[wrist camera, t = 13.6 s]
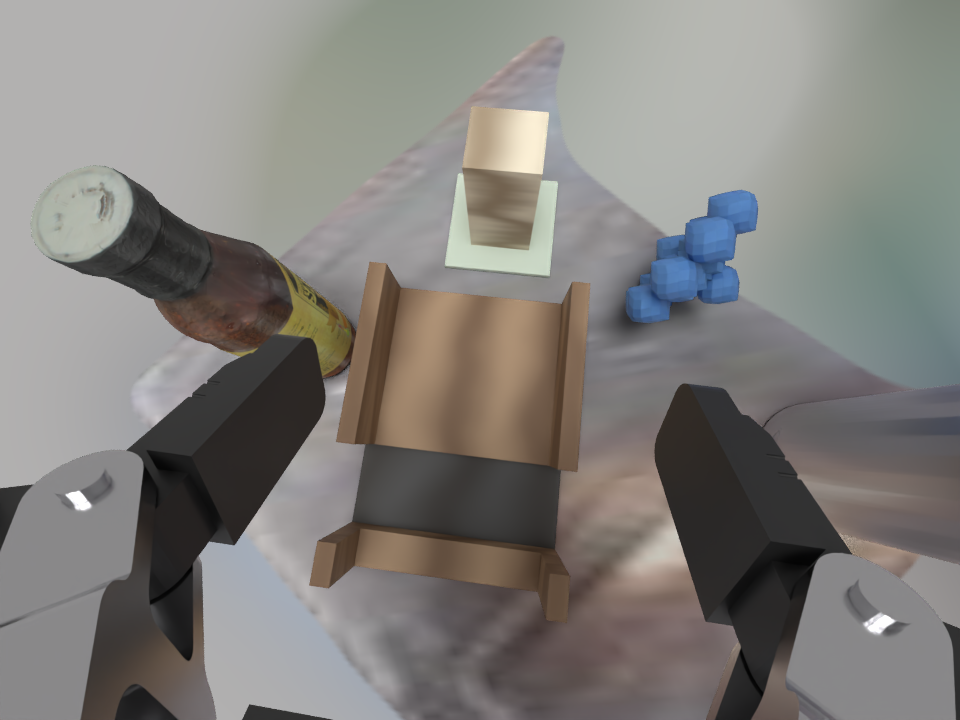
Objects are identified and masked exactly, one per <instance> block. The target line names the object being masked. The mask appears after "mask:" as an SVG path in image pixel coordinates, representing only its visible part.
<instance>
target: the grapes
mask: <svg viewBox="0 0 960 720" xmlns="http://www.w3.org/2000/svg"><path fill="white" fill-rule="evenodd" d="M757 215H758V206H757V200H756V198H755V195H754V194H752V193H750V192H748V191H744V190H737V191H732V192H727V193H722V194H718V195H715V196H712V197H709V201H708V213H707V216H704V217H699V218H695V219H692V220H690V222H689V223H686V229H685V235H677V236H671V237H666V238H662V239H659V240H657V255H656V257H657V261H653V262H652V264H651V273H648V274H644V275H640V285H639V286H635V287H630V288H629V290H628V291H626V313H627V315H628V316H629V318H630V319H631V320H632V321H634V322H644V323H654V322H659V321H664V320H669V313H670V306H672V302H684V301H689V300H693V297H697V296H698V299H700V300H701V301H702V302H704V303H709V304H721V303H726V302H731V301H736V300H737V299H738V293H739V278H738V275H737V271H736V270H735V269H733V268H732V267H730V266H726V265H725V261H728V260H732V259H733V258H734V253H735V243H736V237H737V234H742V233H746V232H750V231H754V230H756V224H757Z"/></svg>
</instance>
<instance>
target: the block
mask: <svg viewBox="0 0 960 720" xmlns="http://www.w3.org/2000/svg"><path fill="white" fill-rule="evenodd" d="M548 117H549V112H537V111H524V110H512V109H499V108H486V107H474V106H472V107H471V114H470V120H469V127H468V133H467V140H466V147H465V153H464V160H463V166H462V169H463V177H464V186H465V195H466V204H467V212H468V221H469V230H470V239H471V245H479V246H489V247H499V248H510V249H520V250H529V246H530V240H531V235H532V229H533V224H534V218H535V213H536V207H537V202H538V196H539V190H540V185H541V179H542V173H543V164H544V155H545V145H546V136H547V126H548Z"/></svg>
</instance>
